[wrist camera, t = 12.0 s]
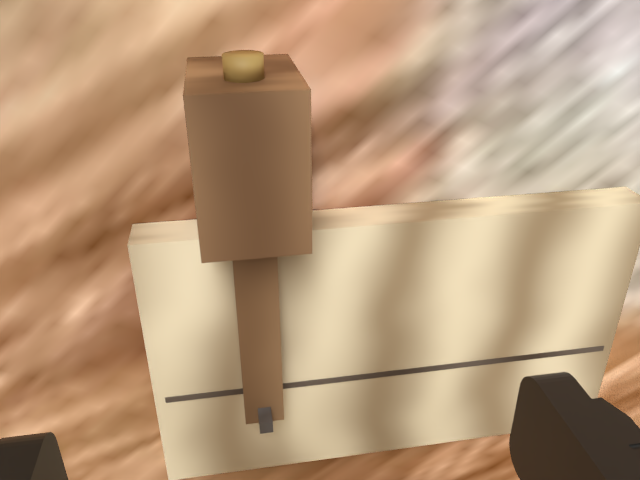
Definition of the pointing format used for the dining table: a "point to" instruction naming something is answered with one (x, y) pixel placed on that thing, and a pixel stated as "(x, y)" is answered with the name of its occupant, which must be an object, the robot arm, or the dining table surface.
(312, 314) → the board
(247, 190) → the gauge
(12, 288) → the dining table surface
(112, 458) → the dining table surface
